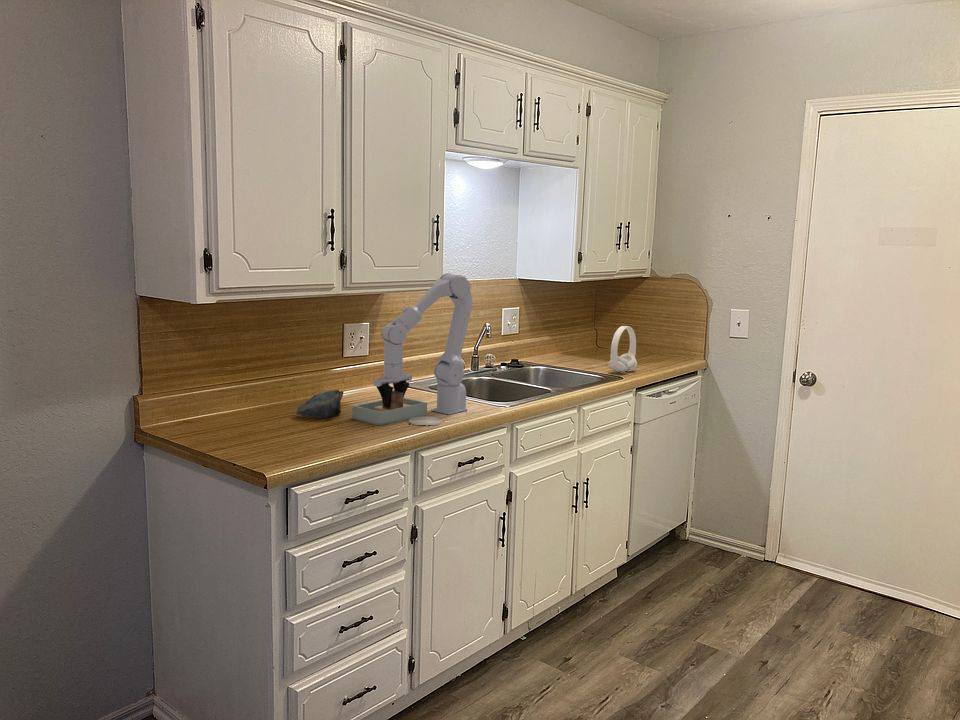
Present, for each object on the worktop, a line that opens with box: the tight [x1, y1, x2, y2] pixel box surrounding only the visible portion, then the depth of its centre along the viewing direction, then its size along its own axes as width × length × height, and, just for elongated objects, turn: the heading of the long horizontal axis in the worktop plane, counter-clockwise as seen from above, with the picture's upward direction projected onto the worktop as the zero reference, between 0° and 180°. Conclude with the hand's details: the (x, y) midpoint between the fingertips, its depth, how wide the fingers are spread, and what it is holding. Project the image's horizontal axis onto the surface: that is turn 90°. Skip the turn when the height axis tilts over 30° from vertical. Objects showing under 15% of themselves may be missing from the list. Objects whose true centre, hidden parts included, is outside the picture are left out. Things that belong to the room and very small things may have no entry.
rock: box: [295, 389, 344, 419], centre depth 239 cm, size 16×8×10 cm
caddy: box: [351, 397, 428, 427], centre depth 241 cm, size 20×12×4 cm, turn 141°
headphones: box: [607, 325, 638, 374], centre depth 333 cm, size 8×19×20 cm, turn 143°
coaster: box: [408, 415, 443, 427], centre depth 236 cm, size 10×10×1 cm
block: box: [382, 390, 403, 410], centre depth 241 cm, size 4×4×5 cm
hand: (392, 406), depth 241 cm, fingers closed on block, 4 cm apart
